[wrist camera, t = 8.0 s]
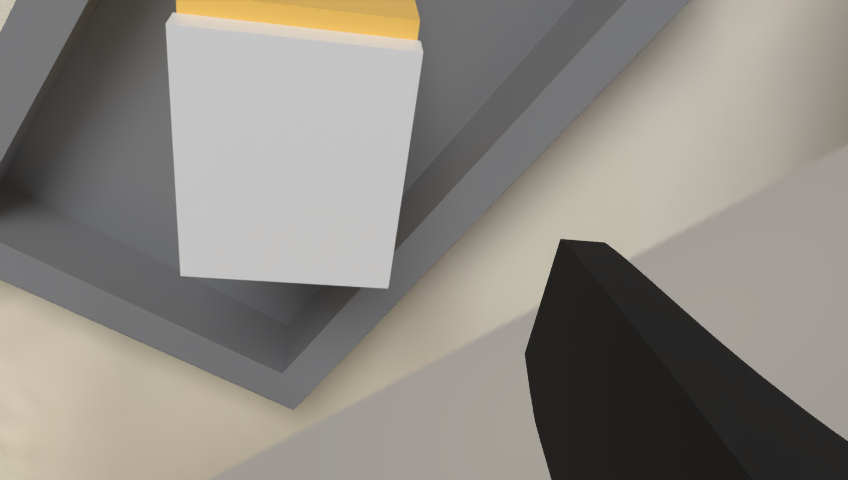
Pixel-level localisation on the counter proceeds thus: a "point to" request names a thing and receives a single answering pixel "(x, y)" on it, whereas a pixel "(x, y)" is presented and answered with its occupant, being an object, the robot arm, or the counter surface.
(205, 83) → the yellow and white block
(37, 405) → the counter surface
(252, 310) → the parts tray
